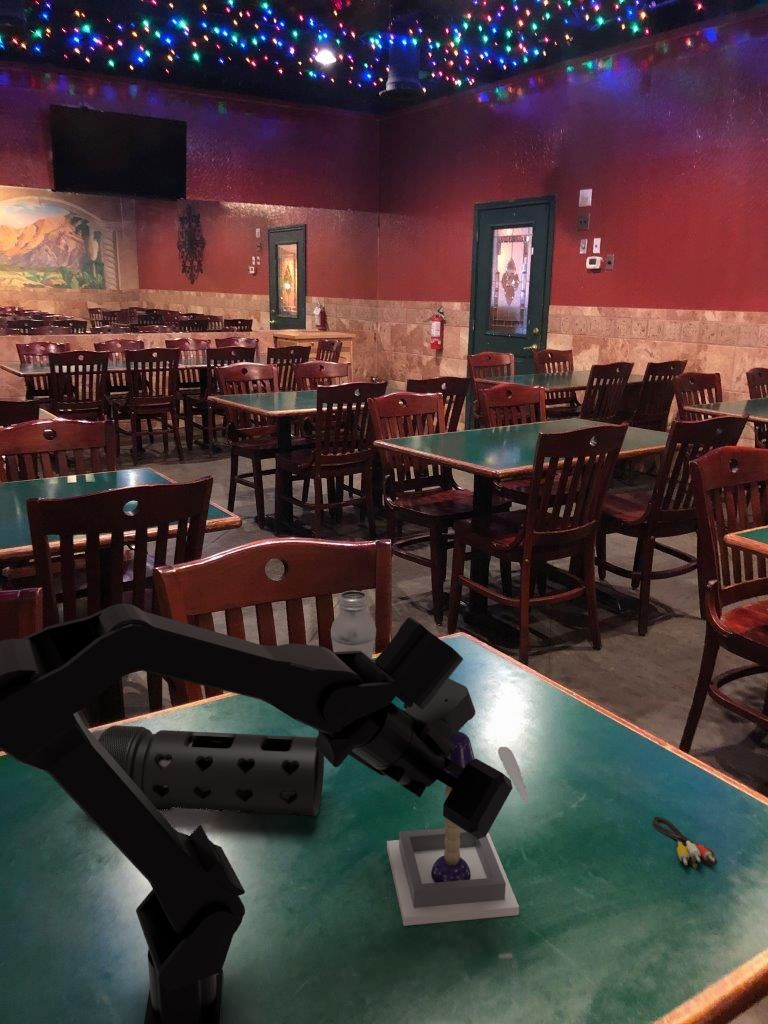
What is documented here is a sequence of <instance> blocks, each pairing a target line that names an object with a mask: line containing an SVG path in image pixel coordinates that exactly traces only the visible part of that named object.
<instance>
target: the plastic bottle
mask: <svg viewBox="0 0 768 1024" xmlns="http://www.w3.org/2000/svg"><path fill="white" fill-rule="evenodd" d="M339 599H340V600H339V602H340V603H339V609H340V610H341V611H340V612H339V613H338V614H337V616H336V617H335V619H334V621H333V622H332V624H331V628H330V638H331V645H332V650H333V651H332V652H346V651H362V652H363V653H365V654H366V655H367V656H368V657H369V658H370V659H372V660H373V651H374V647H375V642H376V641H375V640H376V636H377V628H376V624H375V621H374V619H373V618H372V617H371V615H370V614H369V612H367V610H366V609H367V608H368V603H367V593H365V592H364V591H360V590H347V591H344V592H342V593H340V595H339Z"/></svg>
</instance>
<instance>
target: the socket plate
mask: <svg viewBox="0 0 768 1024" xmlns="http://www.w3.org/2000/svg"><path fill="white" fill-rule="evenodd" d="M445 836H446V835H445V832H444V828H431V829H419V830H418V829H417V830H406V831H404V830H403V831H399V834H398V837H399V839H396V840H395V839H393V840H387V841H386V852H387V855H388V859H389V864H390V869H391V873H392V878H393V882H394V887H395V892H396V896H397V901H398V906H399V910H400V915H401V919H402V925H403V926H406V927H407V926H413V925H414V926H415V925H427V924H437V923H439V924H440V923H447V922H448V923H449V922H459V921H471V920H479V919H490V918H492V919H493V918H501V917H502V918H503V917H513V916H519V913H520V905H519V904H518V901H517V898H516V896H515V893H514V891H513V889H512V885H511V884H510V881H509V879H508V876H507V873H506V871H505V870H504V866H503V864H502V862H501V860H500V857H499V854H498V852H497V849H496V847H495V844H494V843H493V840H492V838H491V835H490V833H489V832H488V833H487V835H486V837H483V838H480V839H477V838H475V837H474V836H472V835H471V834H469V833H468V832H466V831H465V830H463V829H462V828H461V833H460V836H459V838H460V848H459V851H460V857H461V858H462V859H463V860H464V861H465V862H466V863H467V865H468V866H469V869H470V874H471V878H470V880H460V881H449V882H437V883H436V882H435V881H434V880H433V878H432V876H431V871H432V867H433V865H434V863H435V862H436V860H437V859H439V858H440V857H442V856H444V851H445V844H444V839H445Z"/></svg>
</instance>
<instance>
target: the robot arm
mask: <svg viewBox="0 0 768 1024" xmlns="http://www.w3.org/2000/svg"><path fill="white" fill-rule="evenodd" d="M463 661H464V658H463V657H462V656H461V654H459V653H458V652H457V651H456V650H455V649H454V648H453V647H452V646H451V645H449V644H447V642H445V641H443V640H442V639H440V638H439V637H437V636H436V635H434V634H433V633H432V632H431V631H429V630H428V629H427V628H426V627H425V626H424V625H423V624H421V623H420V622H419V621H417V620H416V619H414V618H413V617H412V616H408V617H407V618H406V619H405V621H404V622H403V623H402V624H401V625H400V627H399V629H398V631H397V633H396V634H395V635H394V636H393V638H392V639H391V640H390V641H389V643H388V644H387V645H386V647H384V649H382V651H381V652H380V653H379V654H378V656H377V657H376V659H375V660H373V658H372V659H370V658H369V657H368V656H367V655H366V654H365V653H363V652H362V651H346V652H333V651H332V650H331V649H329V648H327V647H325V646H321V645H313V644H312V645H311V644H302V643H301V644H300V643H292V642H291V643H284V644H279V645H266V644H259V643H255V642H254V641H249V640H245V639H242V638H238V637H235V636H232V635H228V634H224V633H221V632H217V631H213V630H210V629H207V628H203V627H200V626H197V625H194V624H193V625H192V624H189V623H186V622H182V621H179V620H175V619H171V618H168V617H165V616H162V615H158V614H153V613H150V612H147V611H144V610H142V609H141V608H139V607H137V606H136V605H133V604H130V603H117V604H113V605H110V606H108V607H105V608H103V609H102V610H99V611H97V612H95V613H93V614H90V615H88V616H83V617H80V618H77V619H72V620H69V621H64V622H60V623H55V624H52V625H48V626H45V627H43V628H42V629H39V630H36V631H35V632H34V633H31V634H27V636H24V637H22V638H7V639H4V640H0V751H2V752H3V753H4V754H6V755H7V756H9V757H10V758H12V759H13V760H14V761H16V762H17V763H20V764H22V765H25V766H28V767H30V768H34V769H37V770H38V771H43V772H44V773H46V774H47V775H49V776H50V777H51V778H52V779H53V780H54V781H55V782H56V784H57V785H59V787H60V788H61V789H62V790H63V791H64V792H65V793H66V794H67V795H68V796H69V797H70V799H72V801H73V802H74V803H75V804H76V805H77V806H78V808H79V809H80V810H82V811H83V812H84V814H85V815H86V816H87V817H88V818H89V819H90V820H91V822H93V823H94V824H95V826H96V827H97V828H98V829H99V830H100V831H101V832H102V833H103V834H104V835H105V836H106V837H107V839H109V841H111V842H112V844H113V845H114V846H115V847H116V848H117V849H118V850H119V851H120V852H121V853H122V854H123V856H124V857H125V858H126V859H127V860H128V861H129V862H130V863H131V864H132V865H133V867H135V869H137V871H139V873H140V874H141V875H142V876H143V877H144V878H145V879H146V880H147V881H148V883H149V884H150V886H151V891H150V892H149V893H148V894H147V895H146V897H145V898H144V899H143V900H142V901H141V902H140V904H139V905H138V906H137V908H136V909H135V913H136V916H137V919H138V922H139V925H140V928H141V930H142V934H143V936H144V939H145V942H146V945H147V947H148V949H147V964H148V965H147V966H148V977H149V978H148V980H149V990H148V996H147V1003H146V1007H145V1015H144V1021H143V1024H221V1020H222V1005H223V1004H222V1002H223V1000H222V999H223V983H224V971H223V967H224V964H225V961H226V959H227V955H228V952H229V950H230V947H231V943H232V940H233V938H234V934H235V933H236V932H237V931H238V929H239V928H240V926H241V924H242V922H243V918H244V916H245V914H246V907H245V905H244V903H243V901H242V899H241V896H243V895H244V894H245V893H246V890H245V889H244V887H243V884H242V883H241V881H240V879H239V877H238V875H237V873H236V872H235V870H234V868H233V866H232V864H231V862H230V861H229V859H228V857H227V855H226V853H225V850H224V849H223V847H222V846H220V845H218V844H215V843H214V842H213V841H211V840H210V838H209V837H208V835H207V833H206V831H205V830H204V827H203V825H202V824H199V825H198V826H197V827H196V828H194V830H193V831H191V833H189V834H188V833H187V834H186V833H184V832H180V831H178V830H177V829H175V828H174V827H173V826H172V824H171V823H170V822H169V821H168V820H167V818H165V816H164V815H163V814H162V813H161V812H160V810H158V809H157V808H156V807H155V806H154V805H153V804H152V802H151V801H150V800H149V799H148V798H147V797H146V796H145V794H144V793H143V792H142V791H141V790H140V789H139V787H138V786H137V785H136V784H135V783H134V782H133V780H132V779H131V778H130V777H129V776H128V775H127V774H126V772H125V771H124V770H123V769H122V768H121V767H120V765H119V764H118V763H117V762H116V761H115V760H114V758H113V757H112V756H111V755H110V754H109V753H108V752H107V750H106V749H105V748H104V747H103V746H102V745H101V743H100V742H99V741H98V740H97V739H96V738H95V736H94V735H93V734H92V732H91V730H90V729H89V728H88V727H87V726H86V725H85V724H84V722H83V720H82V718H81V716H80V715H79V714H80V713H78V712H80V711H82V710H83V709H85V708H86V707H89V705H90V704H91V703H93V702H94V701H95V700H96V699H97V698H98V697H100V696H101V695H102V694H103V693H104V692H106V690H108V689H109V688H110V687H111V686H113V684H115V683H116V682H117V681H118V680H119V679H121V678H123V677H125V676H127V675H128V674H130V673H132V672H135V671H137V670H138V671H142V672H147V673H150V674H153V675H158V676H162V677H167V678H170V679H174V680H178V681H183V682H185V683H186V682H187V683H191V684H194V685H199V686H203V687H208V688H210V689H211V688H212V689H215V690H218V691H223V692H228V693H231V694H235V695H236V694H237V695H240V696H244V697H249V698H253V699H256V700H260V701H262V702H264V703H266V704H268V705H270V706H272V707H274V708H275V709H277V710H279V711H281V712H282V713H284V714H285V715H286V716H289V717H290V718H291V719H293V720H295V721H297V722H299V723H301V724H304V725H305V726H308V727H310V728H312V729H315V730H316V731H318V735H317V736H316V737H317V738H316V742H315V747H316V748H317V749H318V750H319V751H320V752H321V753H322V754H323V755H324V759H326V760H327V761H328V762H329V763H330V764H331V766H333V767H334V768H339V767H340V766H341V764H343V763H344V761H345V759H347V757H348V756H350V757H352V759H354V760H356V761H357V762H358V763H360V764H362V765H364V766H365V767H367V768H368V769H370V770H371V771H374V772H376V773H377V774H378V775H380V776H383V777H384V776H385V777H387V778H388V779H390V780H392V781H393V782H394V783H396V784H397V785H399V786H401V787H402V788H404V789H406V790H407V791H409V792H410V793H412V794H413V795H414V796H416V797H418V798H421V797H422V795H423V794H424V791H425V790H426V789H427V787H428V788H429V787H431V786H432V785H433V784H434V783H435V782H436V781H438V782H439V783H442V784H443V785H445V786H448V787H450V788H451V789H452V790H451V792H450V794H449V795H448V797H446V798H447V799H446V798H445V800H446V801H445V800H444V802H443V807H442V808H443V809H442V817H445V818H447V819H448V820H450V821H451V822H452V823H454V824H455V825H457V826H458V827H460V828H462V829H463V830H465V831H466V832H468V833H469V834H471V835H472V836H474V837H475V838H477V839H480V838H483V837H486V835H487V833H489V831H490V830H491V828H492V826H493V824H494V822H495V821H496V819H497V817H498V815H499V813H500V812H501V810H502V808H503V806H504V804H505V802H506V801H507V800H508V797H509V795H510V794H511V791H512V790H513V783H512V779H511V778H509V777H508V776H507V775H506V774H504V773H503V772H501V771H500V770H497V769H496V768H495V767H493V766H491V765H489V764H487V763H485V762H483V761H482V760H480V759H478V758H475V759H474V760H472V761H470V762H468V763H467V764H466V766H465V768H463V767H461V766H460V765H458V764H456V763H454V762H453V761H451V760H449V759H448V758H446V757H444V756H445V755H446V756H450V754H451V752H452V750H453V749H454V747H455V745H454V744H453V743H452V742H451V741H449V740H448V739H449V738H451V737H453V736H454V735H455V734H456V733H457V732H458V731H459V732H460V730H461V729H462V728H463V726H465V725H466V724H467V723H468V722H469V721H472V719H473V718H474V717H475V716H476V712H477V711H476V709H475V706H474V703H473V700H472V697H471V694H470V692H469V688H468V687H467V686H465V685H463V684H462V683H460V682H458V681H455V680H453V679H451V678H450V677H451V676H452V675H453V673H454V672H455V671H456V669H457V668H458V667H459V666H460V664H461V663H462V662H463ZM396 697H397V698H398V699H399V700H400V701H401V702H403V708H404V710H403V709H402V708H401V707H398V706H397V705H396V704H395V703H393V701H394V699H395V698H396ZM443 768H444V769H445V770H447V771H449V772H451V773H453V774H454V775H456V776H457V777H459V778H458V779H457V778H455V777H453V776H452V775H450V774H448V773H447V772H445V771H443ZM445 818H444V819H445Z"/></svg>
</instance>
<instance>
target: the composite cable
mask: <svg viewBox="0 0 768 1024" xmlns="http://www.w3.org/2000/svg"><path fill="white" fill-rule="evenodd" d="M663 824H664V825H665V826H667V827H668V828H667V827H665V826H664V825H663ZM651 826H653V828H654V829H655V830H657V831H658V832H660V833H662V834H664V835H666V836H667V837H669V838H671V839H674V840H675V841H676V842H677V847H676V853H677V856H678V859H679V861H680V862H683V865H685V866H688V864H689V865H690V866H692V867H693V869H694V870H697V869H698V863H702V864H704V865H707V866H714V865H715V864H716V863H717V856H716V855H717V854H716V853H715V852H714V851H713V850H712V849H711V848H709V847H707V846H706V845H705V846H704V845H702V844H700V843H698V842H696V841H694V840H692V839H690V838H688V836H686V835H684V834H683V833H682V831H680V829H678V827H677V826H676V825H675V823H673V822H671V821H670V820H669V819H667V818H665V817H661V816H654V817H653V818H652V823H651ZM696 862H697V863H696Z"/></svg>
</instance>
